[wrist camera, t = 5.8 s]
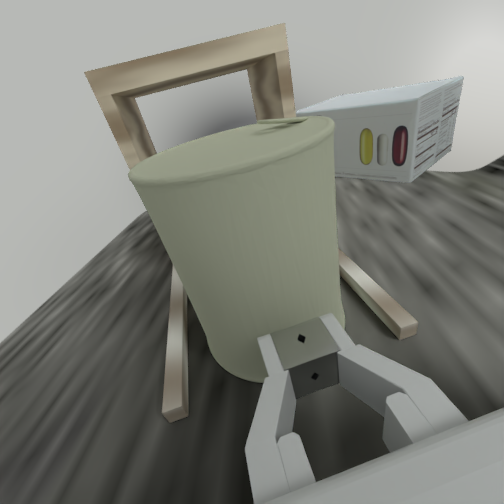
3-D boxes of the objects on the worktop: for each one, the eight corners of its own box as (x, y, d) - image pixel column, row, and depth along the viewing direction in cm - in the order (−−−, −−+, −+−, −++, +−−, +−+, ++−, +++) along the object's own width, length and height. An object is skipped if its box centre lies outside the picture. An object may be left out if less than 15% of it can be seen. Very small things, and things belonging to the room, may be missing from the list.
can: (380, 328, 15) (393, 95, 9) (240, 420, 13) (124, 184, 6) (291, 261, 23) (265, 109, 16) (193, 311, 20) (117, 152, 14)
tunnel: (416, 334, 14) (498, -154, 6) (169, 423, 13) (-178, -16, 5) (279, 199, 35) (252, 49, 27) (178, 229, 34) (117, 83, 26)
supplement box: (298, 175, 42) (291, 112, 38) (344, 150, 49) (342, 93, 44) (410, 185, 30) (420, 94, 26) (452, 151, 37) (466, 72, 32)
